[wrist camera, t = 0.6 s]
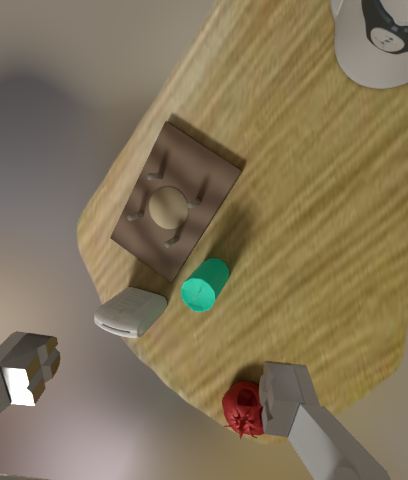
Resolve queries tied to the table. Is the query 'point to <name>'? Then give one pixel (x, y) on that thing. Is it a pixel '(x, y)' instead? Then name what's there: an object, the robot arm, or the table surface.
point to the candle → (205, 284)
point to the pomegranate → (243, 408)
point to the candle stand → (173, 201)
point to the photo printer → (130, 312)
